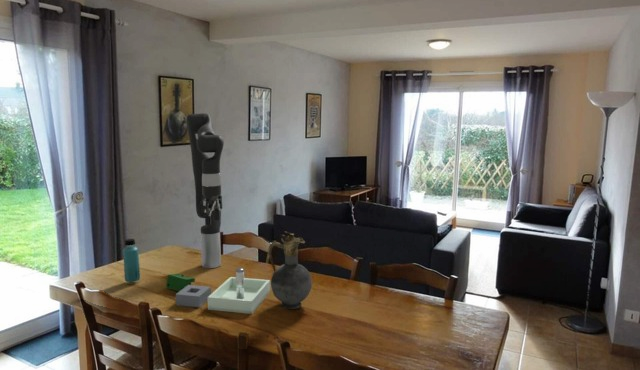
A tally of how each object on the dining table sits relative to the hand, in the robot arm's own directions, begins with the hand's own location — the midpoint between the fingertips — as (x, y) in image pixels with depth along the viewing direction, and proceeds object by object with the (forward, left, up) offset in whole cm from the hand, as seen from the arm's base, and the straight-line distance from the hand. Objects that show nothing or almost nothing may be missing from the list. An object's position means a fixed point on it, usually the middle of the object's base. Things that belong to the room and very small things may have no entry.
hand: (212, 222), depth 179 cm
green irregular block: (0, -16, -30) cm, 34 cm away
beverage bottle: (-1, -40, -30) cm, 50 cm away
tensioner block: (+11, -4, -30) cm, 32 cm away
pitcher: (+6, +34, -30) cm, 46 cm away
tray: (+6, +14, -30) cm, 34 cm away
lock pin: (+6, +14, -29) cm, 33 cm away
